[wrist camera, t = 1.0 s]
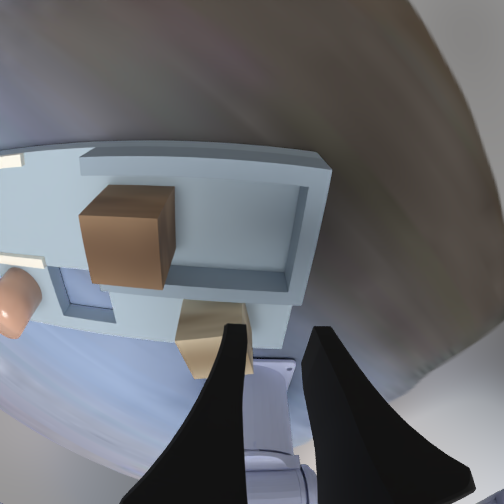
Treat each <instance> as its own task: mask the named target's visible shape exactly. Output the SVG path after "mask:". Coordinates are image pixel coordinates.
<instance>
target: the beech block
mask: <svg viewBox="0 0 504 504" xmlns="http://www.w3.org/2000/svg"><path fill="white" fill-rule="evenodd" d="M227 323H233V324H246V326H247V339H248V344H247V356H246V367H245V375H247V374H254V372H253V347H252V329H251V325H250V321H249V317H248V313H247V309H246V305H245V303H233V302H217V301H203V300H189V299H183V302H182V307H181V312H180V317H179V321H178V326H177V331H176V336H175V343H176V345H177V347H178V349H179V351H180V353H181V355H182V356H183V358H184V360H185V362H186V364H187V366H188V368H189V370H190V372H191V373H192V375H193V377H194V379H203V378H208V376H209V373H210V371H211V369H212V366H213V364H214V361H215V359H216V356H217V353H218V350H219V347H220V344H221V340H222V336H223V331H224V325H226V324H227Z"/></svg>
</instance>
